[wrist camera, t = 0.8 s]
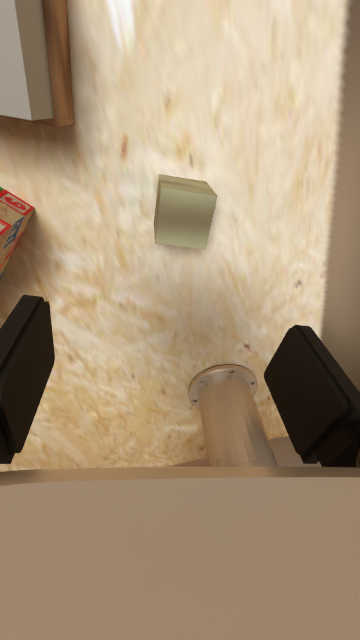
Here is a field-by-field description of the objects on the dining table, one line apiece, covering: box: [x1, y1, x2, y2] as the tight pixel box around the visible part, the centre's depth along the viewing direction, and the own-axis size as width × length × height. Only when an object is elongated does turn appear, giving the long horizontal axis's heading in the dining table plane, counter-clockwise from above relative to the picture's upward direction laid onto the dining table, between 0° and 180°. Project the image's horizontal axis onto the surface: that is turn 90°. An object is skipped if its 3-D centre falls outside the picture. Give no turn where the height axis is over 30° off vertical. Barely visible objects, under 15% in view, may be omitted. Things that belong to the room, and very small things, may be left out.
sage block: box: [154, 174, 217, 249], centre depth 27 cm, size 5×5×6 cm
